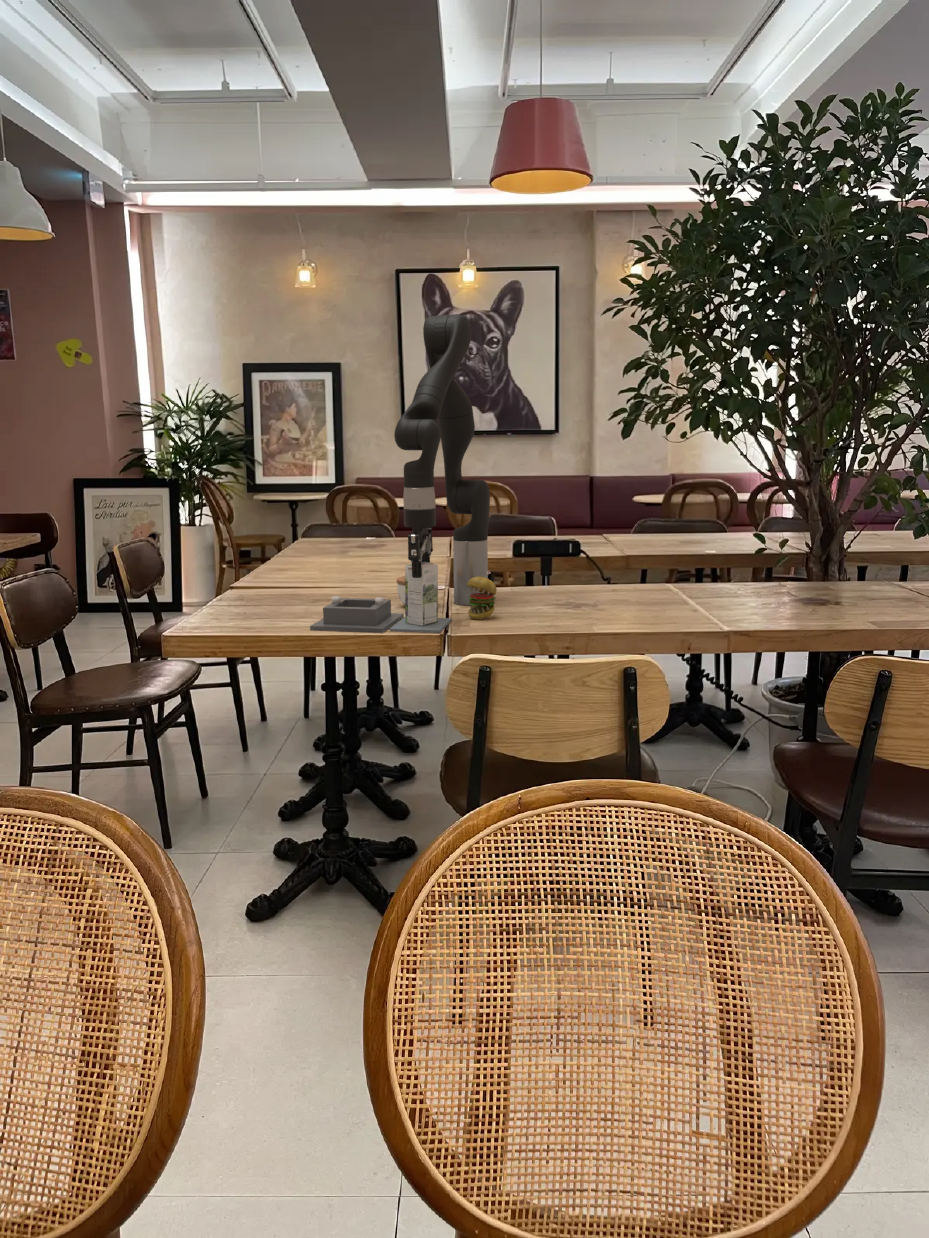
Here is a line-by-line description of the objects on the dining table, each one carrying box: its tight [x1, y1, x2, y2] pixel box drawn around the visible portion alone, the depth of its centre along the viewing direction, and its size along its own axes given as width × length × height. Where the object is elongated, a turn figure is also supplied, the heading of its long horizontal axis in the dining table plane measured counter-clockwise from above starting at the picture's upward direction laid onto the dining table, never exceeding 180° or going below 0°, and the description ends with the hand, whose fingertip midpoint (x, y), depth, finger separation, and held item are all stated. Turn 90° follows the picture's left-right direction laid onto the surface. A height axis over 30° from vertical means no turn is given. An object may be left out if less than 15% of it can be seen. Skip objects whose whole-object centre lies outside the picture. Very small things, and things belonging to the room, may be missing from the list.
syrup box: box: [404, 562, 439, 626], centre depth 216 cm, size 6×6×14 cm
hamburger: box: [467, 569, 498, 621], centre depth 225 cm, size 8×7×12 cm
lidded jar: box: [396, 575, 405, 606], centre depth 240 cm, size 11×11×9 cm
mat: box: [389, 616, 453, 634], centre depth 217 cm, size 14×12×1 cm
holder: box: [309, 595, 405, 634], centre depth 220 cm, size 18×18×6 cm
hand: (421, 574), depth 215 cm, fingers open, 8 cm apart
